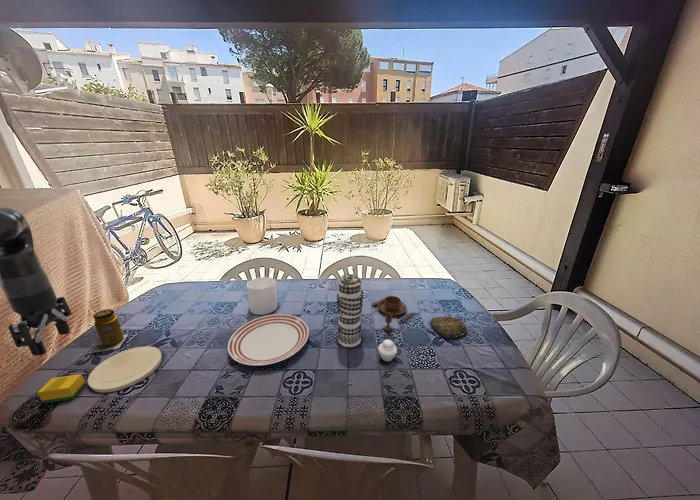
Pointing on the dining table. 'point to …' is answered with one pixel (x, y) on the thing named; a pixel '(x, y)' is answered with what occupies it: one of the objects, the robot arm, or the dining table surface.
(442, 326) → the mossy brown rock
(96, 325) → the condiment
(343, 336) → the decorative candle
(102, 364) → the side plate
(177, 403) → the dining table surface
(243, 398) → the dining table surface
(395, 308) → the place setting
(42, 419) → the dining table surface
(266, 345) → the dinner plate
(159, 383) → the dining table surface
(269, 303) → the cup
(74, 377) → the sponge
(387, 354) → the white lidded jar
